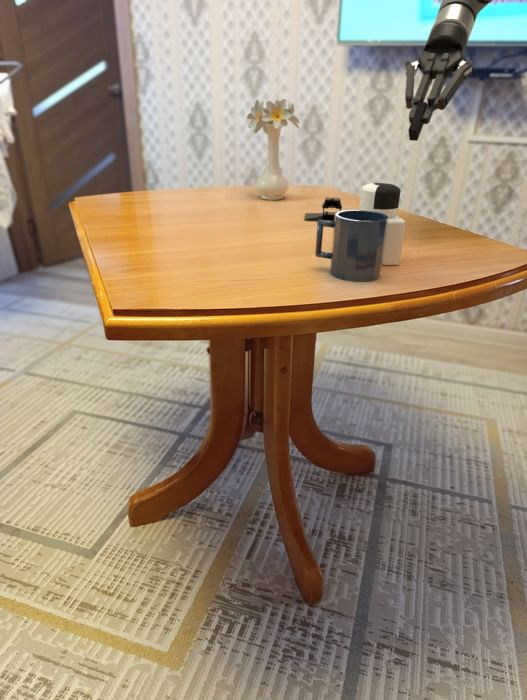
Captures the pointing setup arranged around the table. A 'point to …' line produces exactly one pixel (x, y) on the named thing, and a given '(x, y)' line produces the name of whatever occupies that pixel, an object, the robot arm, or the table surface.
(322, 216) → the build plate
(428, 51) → the robot arm
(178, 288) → the table surface
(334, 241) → the mug
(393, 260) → the container
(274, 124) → the flower vase
